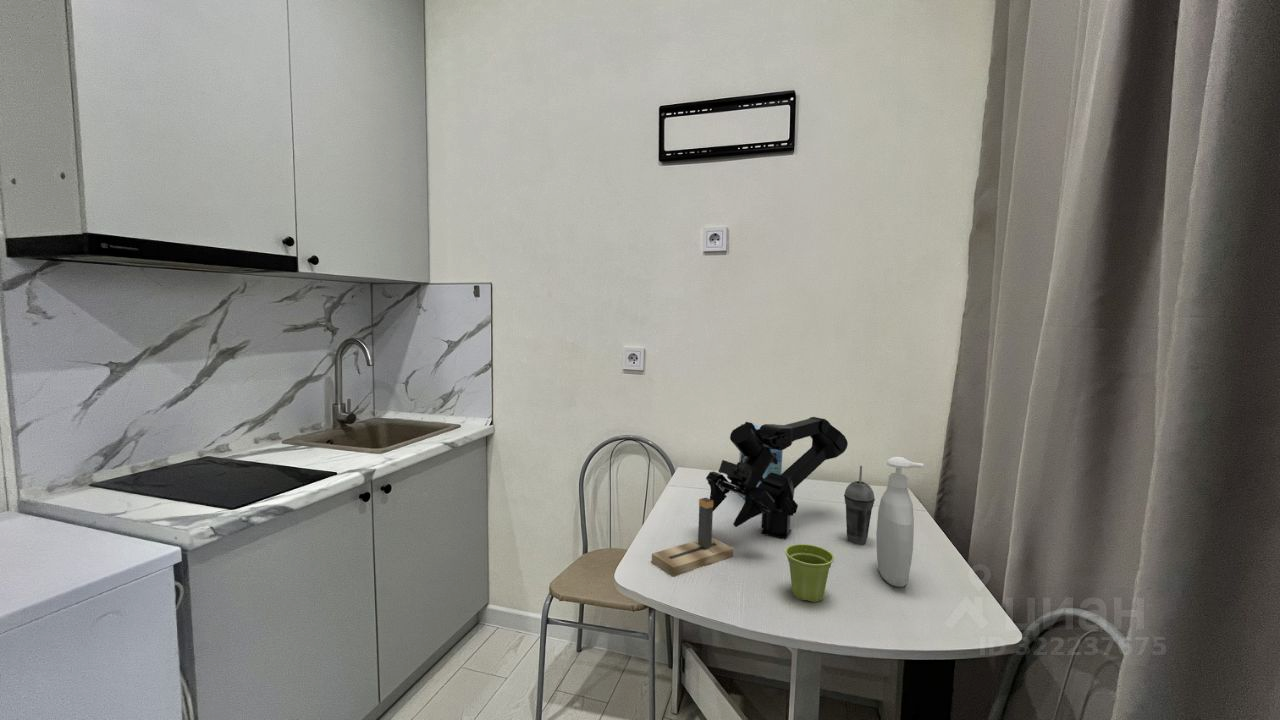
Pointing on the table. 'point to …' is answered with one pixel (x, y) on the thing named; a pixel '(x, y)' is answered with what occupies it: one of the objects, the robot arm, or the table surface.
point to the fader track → (690, 556)
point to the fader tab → (705, 522)
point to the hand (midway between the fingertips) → (720, 519)
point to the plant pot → (809, 570)
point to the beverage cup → (858, 510)
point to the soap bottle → (896, 526)
